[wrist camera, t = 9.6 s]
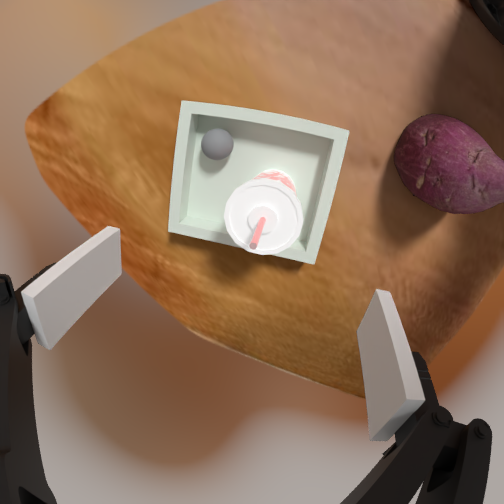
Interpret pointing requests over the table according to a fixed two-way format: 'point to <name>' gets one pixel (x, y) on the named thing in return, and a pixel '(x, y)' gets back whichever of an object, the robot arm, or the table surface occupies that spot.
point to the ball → (217, 144)
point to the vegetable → (449, 165)
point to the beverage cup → (264, 213)
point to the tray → (253, 170)
